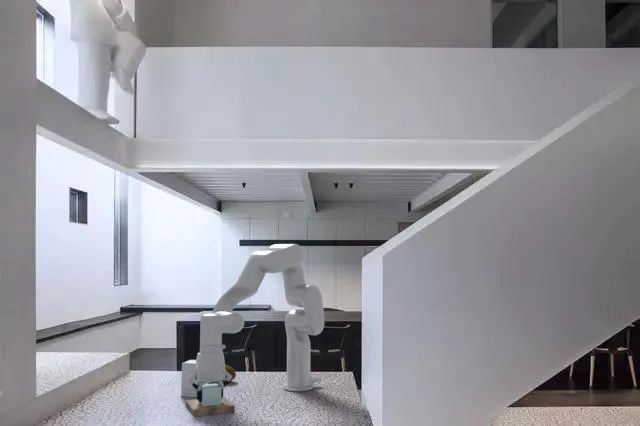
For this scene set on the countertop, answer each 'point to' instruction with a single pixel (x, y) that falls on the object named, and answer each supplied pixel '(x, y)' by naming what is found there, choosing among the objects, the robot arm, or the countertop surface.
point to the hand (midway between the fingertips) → (209, 400)
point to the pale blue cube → (211, 395)
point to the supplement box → (187, 372)
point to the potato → (230, 372)
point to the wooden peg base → (209, 407)
